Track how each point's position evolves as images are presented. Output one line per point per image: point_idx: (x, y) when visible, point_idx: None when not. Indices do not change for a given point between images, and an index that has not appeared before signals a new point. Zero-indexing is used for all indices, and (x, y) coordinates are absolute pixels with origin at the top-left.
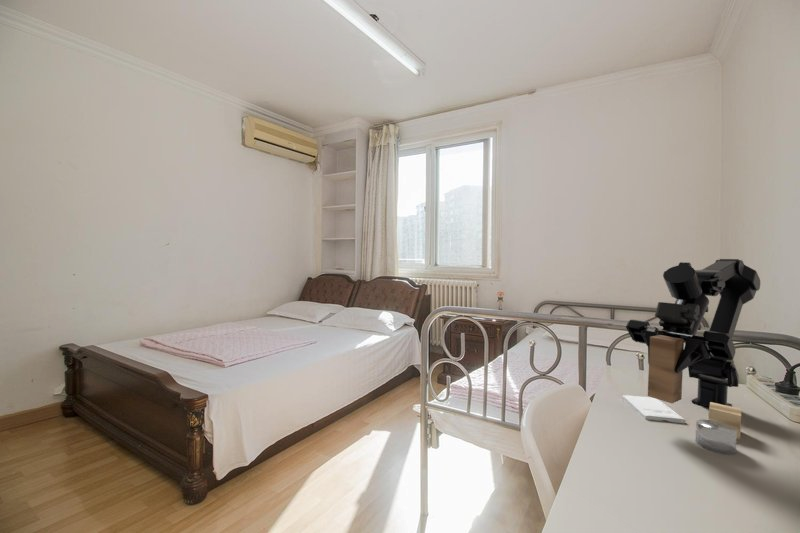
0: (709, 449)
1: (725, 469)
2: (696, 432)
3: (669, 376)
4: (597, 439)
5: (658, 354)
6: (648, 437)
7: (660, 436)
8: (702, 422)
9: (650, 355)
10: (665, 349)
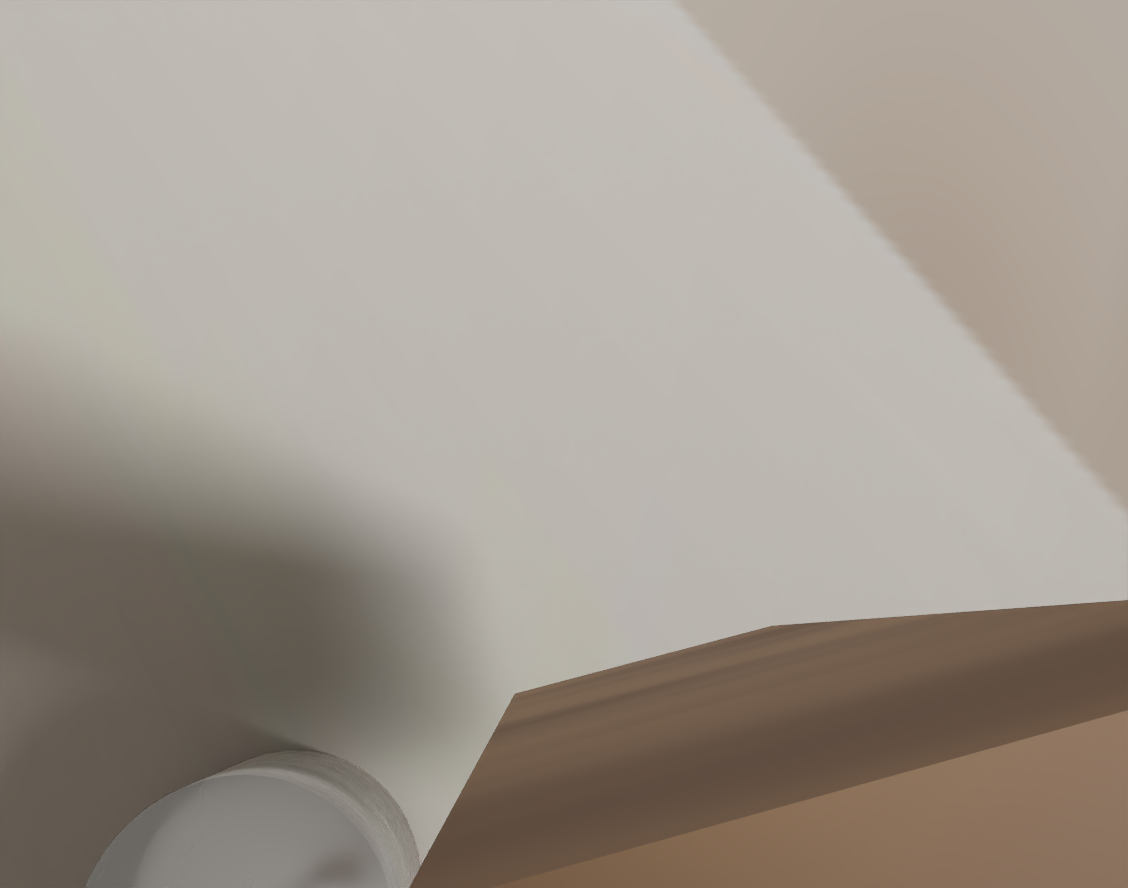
0: (259, 756)
1: (53, 560)
2: (364, 799)
3: (556, 707)
4: (627, 58)
5: (863, 665)
6: (553, 460)
7: (539, 579)
8: None
9: (1023, 615)
10: (730, 728)
